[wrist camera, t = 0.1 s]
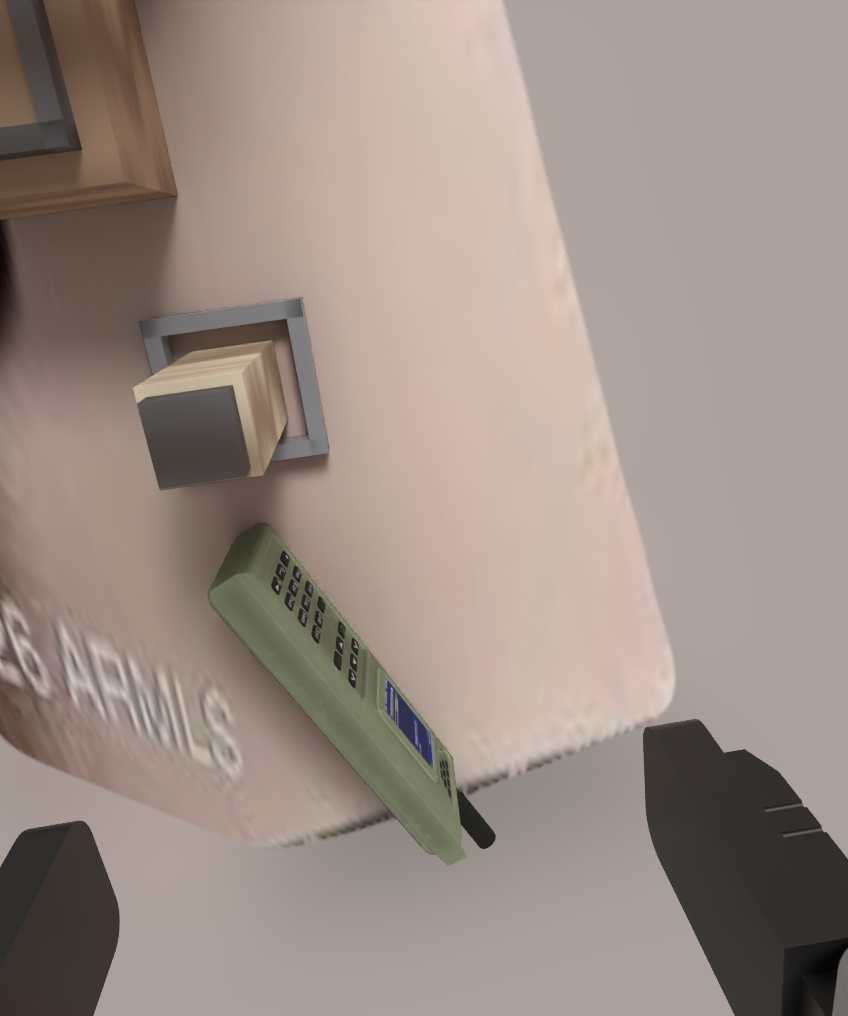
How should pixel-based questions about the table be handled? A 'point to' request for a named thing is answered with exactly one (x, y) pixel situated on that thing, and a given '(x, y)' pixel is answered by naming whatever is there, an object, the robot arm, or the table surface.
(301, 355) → the low socket
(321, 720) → the handheld radio
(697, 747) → the robot arm
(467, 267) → the table surface
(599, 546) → the table surface
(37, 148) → the walnut dock
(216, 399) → the beech plug
